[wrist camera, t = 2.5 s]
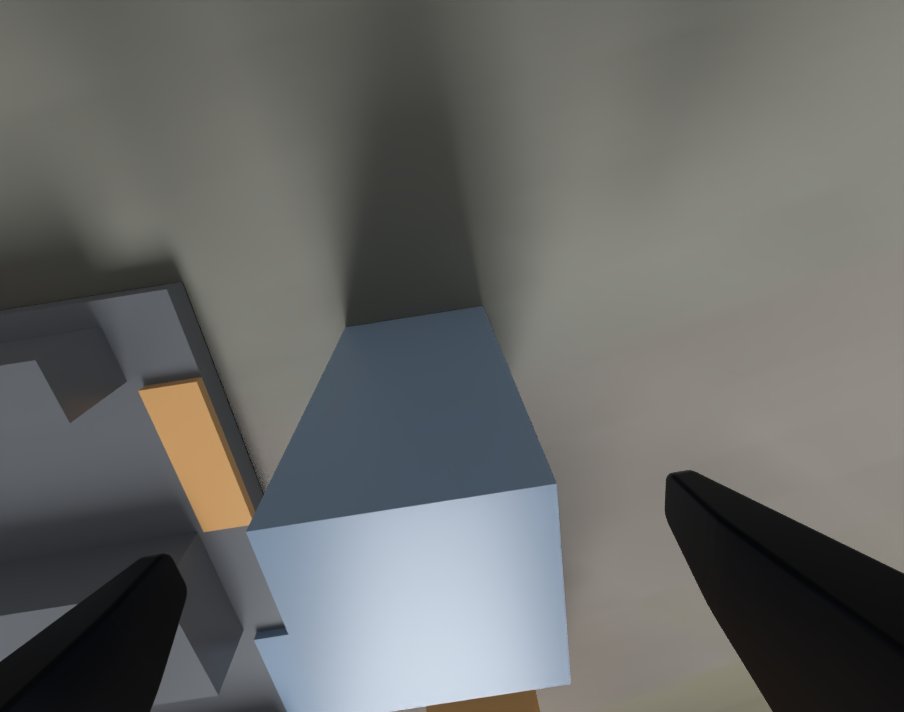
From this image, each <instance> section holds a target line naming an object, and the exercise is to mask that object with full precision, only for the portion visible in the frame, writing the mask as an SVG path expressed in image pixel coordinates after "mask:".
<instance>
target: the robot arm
mask: <svg viewBox="0 0 904 712" xmlns="http://www.w3.org/2000/svg"><path fill="white" fill-rule="evenodd" d="M665 515H666V519H667V522H668V524H669V526H670V528H671V530H672V532H673V534H674V536H675V539H676V541H677V543H678V545H679V547H680V549H681V551H682V553H683V555H684V557H685V559H686V561H687V563H688V565H689V568H690V570H691V572H692V574H693V576H694V578H695V580H696V582H697V584H698V586H699V588H700V590H701V592H702V594H703V596H704V598H705V600H706V602H707V604H708V606H709V608H710V609H711V611H712V613H713V615H714V616H715V618H716V620H717V621H718V623H719V625H720V626H721V628H722V629H723V631H724V633H725V634H726V636H727V638H728V639H729V641H730V643H731V644H732V646H733V647H734V649H735V651H736V652H737V654H738V656H739V657H740V659H741V661H742V662H743V664H744V665H745V667H746V669H747V670H748V672H749V674H750V675H751V677H752V679H753V680H754V682H755V683H756V685H757V687H758V688H759V690H760V692H761V693H762V695H763V696H764V698H765V700H766V701H767V703H768V705H769V706H770V708H771V710H772V711H773V712H904V573H902V572H900V571H898V570H895V569H893V568H891V567H889V566H887V565H885V564H883V563H881V562H879V561H877V560H875V559H873V558H871V557H869V556H867V555H865V554H863V553H861V552H859V551H857V550H855V549H852V548H850V547H848V546H846V545H844V544H842V543H840V542H838V541H836V540H834V539H832V538H830V537H828V536H826V535H824V534H822V533H820V532H818V531H816V530H814V529H812V528H809V527H807V526H805V525H803V524H801V523H799V522H797V521H795V520H793V519H791V518H789V517H787V516H785V515H783V514H781V513H779V512H777V511H775V510H773V509H771V508H769V507H766V506H764V505H762V504H760V503H758V502H756V501H754V500H752V499H750V498H748V497H746V496H744V495H742V494H740V493H738V492H736V491H734V490H732V489H730V488H728V487H726V486H723V485H721V484H719V483H717V482H715V481H713V480H711V479H709V478H707V477H705V476H703V475H701V474H699V473H697V472H695V471H691V470H686V471H680V472H673V473H670V474H669V475H668V476H667V478H666V491H665ZM186 599H187V585H186V582H185V580H184V578H183V576H182V574H181V572H180V571H179V569H178V567H177V565H176V563H175V561H174V559H173V557H172V556H171V555H170V554H168V553H157V554H151V555H146V556H143V557H141V558H139V559H138V560H137V561H135V562H134V563H132V564H131V565H130V566H128V567H127V568H126V569H124V570H123V571H122V572H120V573H119V574H118V575H116V576H115V577H114V578H112V579H111V580H110V581H108V582H107V583H105V584H104V585H103V586H101V587H100V588H99V589H97V590H96V591H95V592H93V593H92V594H91V595H89V596H88V597H87V598H85V599H84V600H83V601H81V602H80V603H79V604H77V605H76V606H74V607H73V608H72V609H70V610H69V611H68V612H66V613H65V614H64V615H62V616H61V617H60V618H58V619H57V620H56V621H54V622H53V623H52V624H50V625H49V626H48V627H46V628H45V629H43V630H42V631H41V632H39V633H38V634H37V635H35V636H34V637H33V638H31V639H30V640H29V641H27V642H26V643H25V644H23V645H22V646H21V647H19V648H18V649H17V650H15V651H14V652H12V653H11V654H10V655H8V656H7V657H6V658H4V659H3V660H2V661H0V712H150V711H151V709H152V706H153V703H154V701H155V698H156V695H157V693H158V690H159V687H160V684H161V681H162V678H163V675H164V672H165V668H166V665H167V662H168V658H169V655H170V652H171V649H172V645H173V642H174V639H175V635H176V632H177V629H178V626H179V622H180V619H181V616H182V612H183V609H184V606H185V602H186Z"/></svg>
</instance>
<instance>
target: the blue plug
mask: <svg viewBox="0 0 904 712" xmlns="http://www.w3.org/2000/svg"><path fill="white" fill-rule="evenodd" d="M246 534H247V536H248V539H249V541H250V543H251V546H252V548H253V551H254V553H255V555H256V558H257V560H258V563H259V565H260V567H261V570H262V572H263V575H264V577H265V579H266V582H267V584H268V587H269V589H270V591H271V594H272V596H273V599H274V601H275V603H276V606H277V608H278V611H279V613H280V615H281V618H282V620H283V623H284V625H285V627H286V630H287V632H288V635H289V637H290V639H291V642H292V644H293V647H294V649H295V651H296V654H297V656H298V659H299V661H300V663H301V666H302V668H303V671H304V673H305V675H306V678H307V680H308V683H309V685H310V687H311V690H312V692H313V695H314V697H315V699H316V702H317V704H318V707H319V709H320V711H321V712H391V711H398V710H404V709H411V708H417V707H424V706H430V705H437V704H444V703H450V702H457V701H463V700H470V699H476V698H483V697H489V696H496V695H502V694H509V693H516V692H522V691H529V690H535V689H542V688H548V687H555V686H561V685H568V684H571V680H570V666H569V651H568V637H567V623H566V608H565V594H564V580H563V566H562V551H561V537H560V523H559V508H558V494H557V483H556V481H555V478H554V476H553V473H552V471H551V469H550V466H549V464H548V461H547V459H546V457H545V454H544V452H543V449H542V447H541V445H540V442H539V440H538V437H537V435H536V433H535V430H534V428H533V425H532V423H531V421H530V418H529V416H528V413H527V411H526V409H525V406H524V404H523V401H522V399H521V397H520V394H519V392H518V389H517V387H516V385H515V382H514V380H513V377H512V375H511V373H510V370H509V368H508V365H507V363H506V361H505V358H504V356H503V353H502V351H501V348H500V346H499V344H498V341H497V339H496V336H495V334H494V332H493V329H492V327H491V324H490V322H489V320H488V317H487V315H486V312H485V310H484V308H483V306H479V307H473V308H466V309H460V310H454V311H447V312H441V313H435V314H428V315H422V316H416V317H409V318H403V319H396V320H390V321H384V322H377V323H371V324H365V325H358V326H352V327H345V330H344V332H343V334H342V336H341V338H340V340H339V342H338V344H337V346H336V348H335V350H334V352H333V354H332V356H331V358H330V360H329V362H328V364H327V366H326V368H325V371H324V373H323V375H322V377H321V379H320V381H319V383H318V385H317V387H316V389H315V391H314V393H313V395H312V397H311V399H310V401H309V403H308V405H307V407H306V409H305V411H304V414H303V416H302V418H301V420H300V422H299V424H298V426H297V428H296V430H295V432H294V434H293V436H292V438H291V440H290V442H289V444H288V446H287V448H286V450H285V452H284V455H283V457H282V459H281V461H280V463H279V465H278V467H277V469H276V471H275V473H274V475H273V477H272V479H271V481H270V483H269V485H268V487H267V489H266V491H265V493H264V495H263V498H262V500H261V502H260V504H259V506H258V508H257V510H256V512H255V514H254V516H253V518H252V520H251V522H250V524H249V526H248V528H247V530H246Z"/></svg>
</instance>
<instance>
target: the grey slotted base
mask: <svg viewBox="0 0 904 712" xmlns="http://www.w3.org/2000/svg"><path fill="white" fill-rule="evenodd" d="M262 498H263V493H262V490H261V487H260V485H259V482H258V480H257V477H256V474H255V472H254V469H253V466H252V464H251V461H250V459H249V456H248V453H247V451H246V448H245V446H244V443H243V440H242V438H241V435H240V432H239V430H238V427H237V425H236V422H235V419H234V417H233V414H232V412H231V409H230V406H229V404H228V401H227V398H226V396H225V393H224V391H223V388H222V385H221V383H220V380H219V378H218V375H217V372H216V370H215V367H214V364H213V362H212V359H211V357H210V354H209V351H208V349H207V346H206V343H205V341H204V338H203V336H202V333H201V330H200V328H199V325H198V323H197V320H196V317H195V315H194V312H193V309H192V307H191V304H190V302H189V299H188V296H187V294H186V291H185V289H184V286H183V283H182V282H178V283H172V284H165V285H159V286H153V287H146V288H140V289H134V290H127V291H121V292H115V293H108V294H102V295H96V296H89V297H83V298H77V299H70V300H64V301H58V302H51V303H45V304H39V305H32V306H26V307H20V308H13V309H7V310H1V311H0V661H2V660H3V659H4V658H6V657H7V656H8V655H10V654H11V653H12V652H14V651H15V650H17V649H18V648H19V647H21V646H22V645H23V644H25V643H26V642H27V641H29V640H30V639H31V638H33V637H34V636H35V635H37V634H38V633H39V632H41V631H42V630H43V629H45V628H46V627H48V626H49V625H50V624H52V623H53V622H54V621H56V620H57V619H58V618H60V617H61V616H62V615H64V614H65V613H66V612H68V611H69V610H70V609H72V608H73V607H74V606H76V605H77V604H79V603H80V602H81V601H83V600H84V599H85V598H87V597H88V596H89V595H91V594H92V593H93V592H95V591H96V590H97V589H99V588H100V587H101V586H103V585H104V584H105V583H107V582H108V581H110V580H111V579H112V578H114V577H115V576H116V575H118V574H119V573H120V572H122V571H123V570H124V569H126V568H127V567H128V566H130V565H131V564H132V563H134V562H135V561H137V560H138V559H139V558H141V557H143V556H146V555H151V554H157V553H168V554H170V555H171V556H172V557H173V559H174V561H175V563H176V565H177V567H178V569H179V571H180V572H181V574H182V576H183V578H184V580H185V582H186V585H187V599H186V602H185V606H184V609H183V612H182V616H181V619H180V622H179V626H178V629H177V632H176V635H175V639H174V642H173V645H172V649H171V652H170V655H169V658H168V662H167V665H166V668H165V672H164V675H163V678H162V681H161V684H160V687H159V690H158V693H157V695H156V698H155V701H154V703H153V706H152V709H151V711H150V712H321V711H320V709H319V707H318V704H317V702H316V699H315V697H314V695H313V692H312V690H311V687H310V685H309V683H308V680H307V678H306V675H305V673H304V671H303V668H302V666H301V663H300V661H299V659H298V656H297V654H296V651H295V649H294V647H293V644H292V642H291V639H290V637H289V635H288V632H287V630H286V627H285V625H284V623H283V620H282V618H281V615H280V613H279V611H278V608H277V606H276V603H275V601H274V599H273V596H272V594H271V591H270V589H269V587H268V584H267V582H266V579H265V577H264V575H263V572H262V570H261V567H260V565H259V563H258V560H257V558H256V555H255V553H254V551H253V548H252V546H251V543H250V541H249V539H248V536H247V534H246V530H247V528H248V526H249V524H250V522H251V520H252V518H253V516H254V514H255V512H256V510H257V508H258V506H259V504H260V502H261V500H262Z"/></svg>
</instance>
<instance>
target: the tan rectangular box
mask: <svg viewBox="0 0 904 712" xmlns="http://www.w3.org/2000/svg"><path fill="white" fill-rule="evenodd" d="M427 712H540V710H539V705H538V700H537V695H536V691H535V690H529V691H522V692H516V693H509V694H502V695H496V696H489V697H483V698H476V699H470V700H463V701H457V702H450V703H444V704H437V705H430V706H427Z"/></svg>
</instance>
